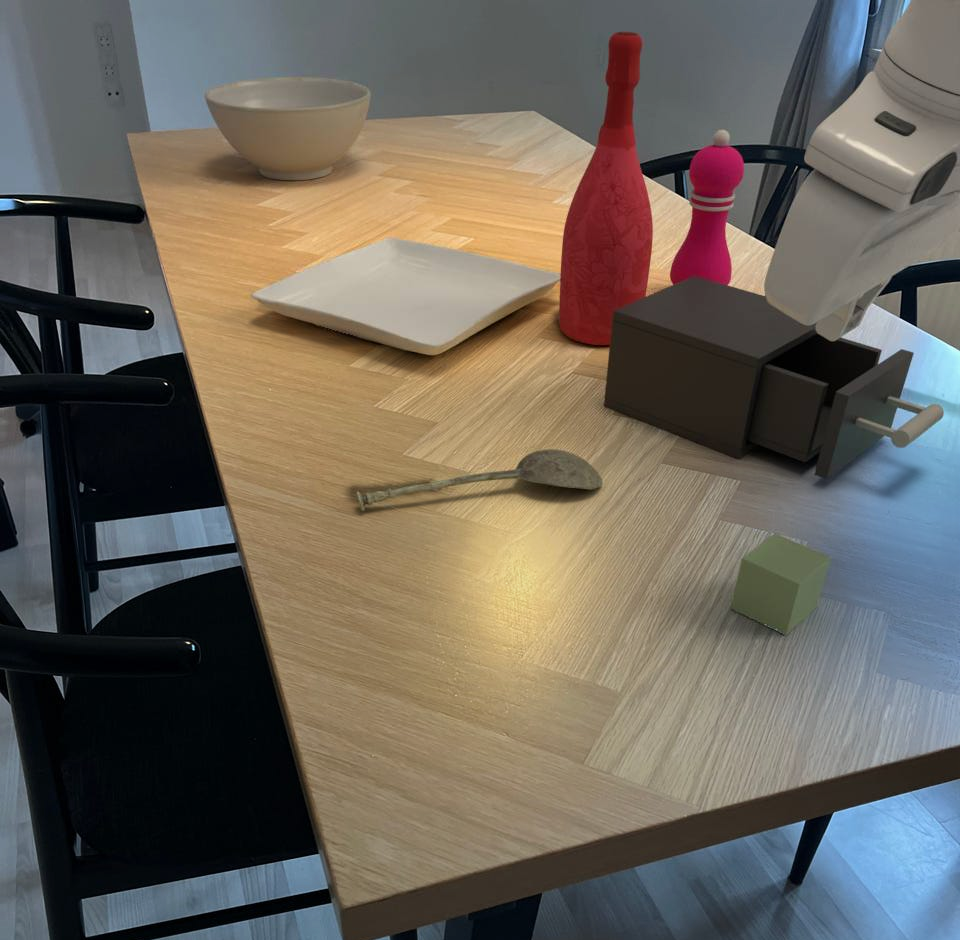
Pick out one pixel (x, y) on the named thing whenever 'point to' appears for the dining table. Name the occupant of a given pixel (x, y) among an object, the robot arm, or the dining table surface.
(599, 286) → the wine bottle
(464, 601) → the dining table surface
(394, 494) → the soupspoon
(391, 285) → the square plate
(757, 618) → the block
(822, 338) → the open drawer with handle
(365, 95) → the decorative bowl
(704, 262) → the pepper mill
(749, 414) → the drawer cabinet
